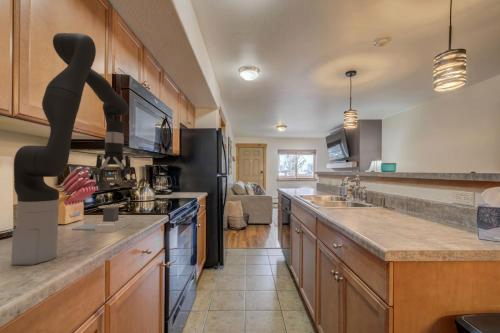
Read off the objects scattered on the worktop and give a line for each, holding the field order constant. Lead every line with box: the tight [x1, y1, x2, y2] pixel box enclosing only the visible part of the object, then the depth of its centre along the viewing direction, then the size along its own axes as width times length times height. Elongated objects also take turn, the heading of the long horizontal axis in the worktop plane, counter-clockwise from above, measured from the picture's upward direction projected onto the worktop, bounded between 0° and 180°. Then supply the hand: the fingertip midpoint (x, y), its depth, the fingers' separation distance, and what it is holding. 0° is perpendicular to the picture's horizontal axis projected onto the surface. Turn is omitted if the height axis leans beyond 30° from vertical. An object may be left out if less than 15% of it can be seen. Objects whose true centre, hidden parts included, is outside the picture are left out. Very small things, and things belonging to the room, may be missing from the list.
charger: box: [102, 205, 120, 222], centre depth 108 cm, size 4×4×7 cm
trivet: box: [72, 223, 98, 231], centre depth 111 cm, size 10×10×1 cm
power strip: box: [94, 215, 132, 233], centre depth 111 cm, size 18×7×4 cm, turn 3°
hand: (113, 177), depth 111 cm, fingers open, 8 cm apart
